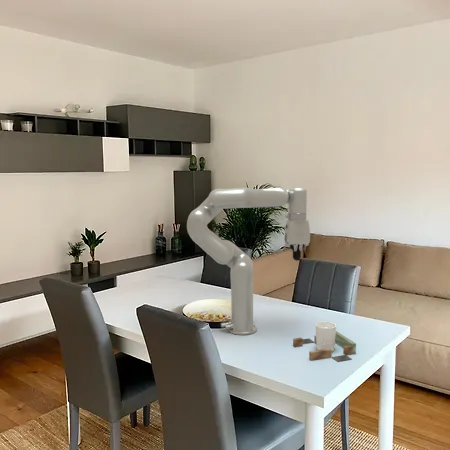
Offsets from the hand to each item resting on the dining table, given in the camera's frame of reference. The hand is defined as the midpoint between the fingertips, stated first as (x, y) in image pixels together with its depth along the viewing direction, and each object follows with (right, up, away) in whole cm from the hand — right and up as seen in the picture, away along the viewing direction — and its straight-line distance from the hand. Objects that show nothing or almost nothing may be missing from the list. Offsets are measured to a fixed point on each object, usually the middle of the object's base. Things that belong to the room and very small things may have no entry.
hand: (296, 259), depth 196 cm
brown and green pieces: (+8, -34, -16) cm, 38 cm away
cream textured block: (+9, -34, -16) cm, 39 cm away
